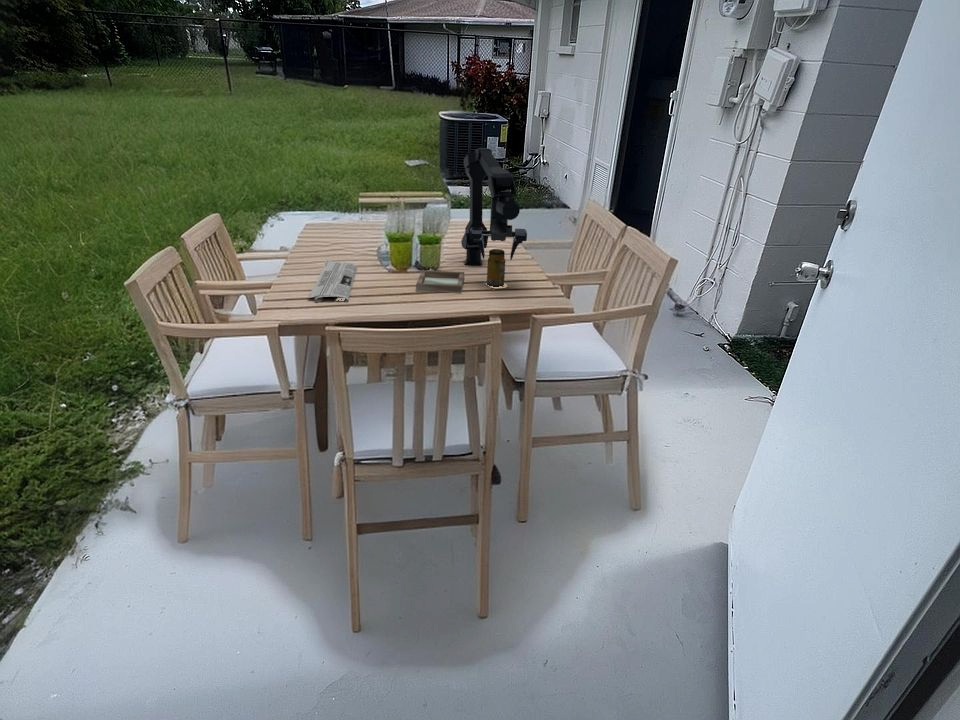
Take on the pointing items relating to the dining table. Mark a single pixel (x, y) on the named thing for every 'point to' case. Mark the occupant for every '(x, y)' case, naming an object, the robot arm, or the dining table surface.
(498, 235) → the robot arm
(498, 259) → the condiment
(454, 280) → the holder tray
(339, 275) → the newspaper
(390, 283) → the dining table surface
